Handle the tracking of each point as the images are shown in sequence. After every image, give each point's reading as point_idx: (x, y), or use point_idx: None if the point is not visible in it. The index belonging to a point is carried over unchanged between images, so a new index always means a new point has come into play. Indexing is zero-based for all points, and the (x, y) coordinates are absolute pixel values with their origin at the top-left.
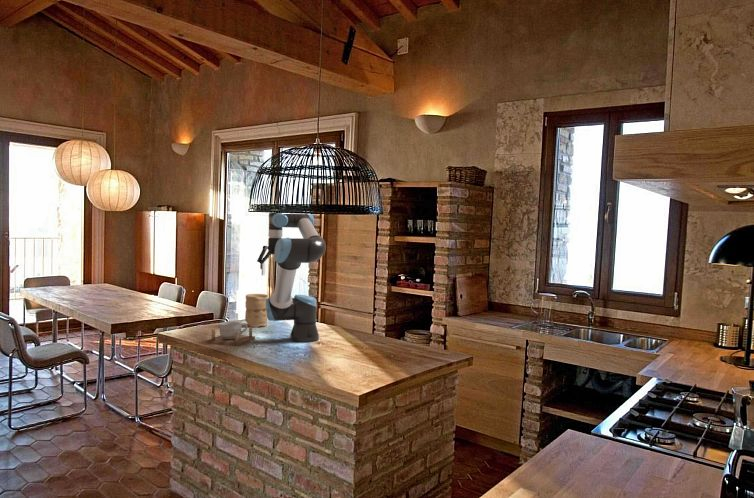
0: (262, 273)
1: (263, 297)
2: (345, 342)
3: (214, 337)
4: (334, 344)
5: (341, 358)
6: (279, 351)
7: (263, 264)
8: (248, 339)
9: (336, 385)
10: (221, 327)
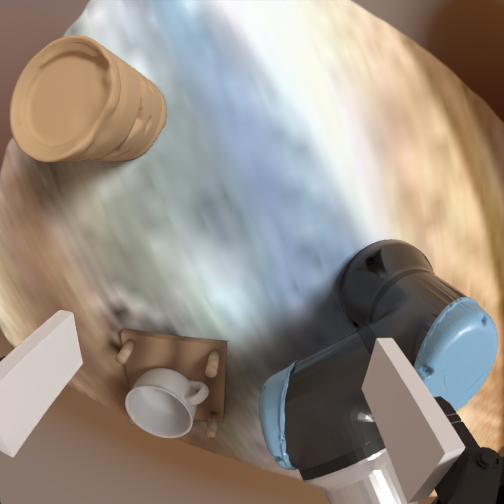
0: (69, 375)
1: (90, 65)
2: (489, 282)
3: None
4: None
5: (464, 411)
6: None
7: (13, 440)
8: (224, 380)
9: (434, 492)
10: (150, 426)
